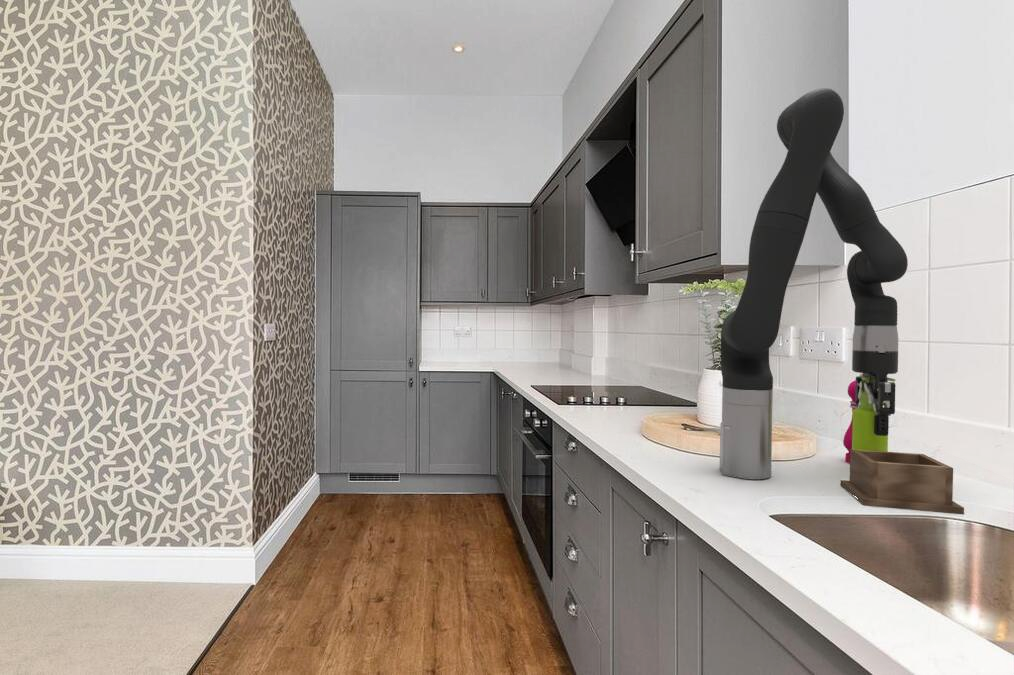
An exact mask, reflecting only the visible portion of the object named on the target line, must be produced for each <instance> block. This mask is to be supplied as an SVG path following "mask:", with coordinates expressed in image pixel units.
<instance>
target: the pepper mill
mask: <svg viewBox="0 0 1014 675" xmlns="http://www.w3.org/2000/svg"><path fill="white" fill-rule="evenodd" d="M862 374H863V373H859V376H860V377H862ZM855 393H856V379H855V380H853V381H851V382H850V383H849V385H848V386H847V394H848V395H847V396H848V397H849V398H850V399H851V401H849V403H850V405H849V407H850V408H851V409H852V410H851V412H852V415H851V421H850V424H849V426H848V428H847V430H846V431H845V434H844V436H843V441H842V442H843V446H844V448H845V449H846V450H847V452H846V453H845V459H844V460H845V462H846V463H847V464H849V465H850V449H852V428H853V409H859V408H858V405H856V403H855Z"/></svg>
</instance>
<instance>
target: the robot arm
mask: <svg viewBox="0 0 1014 675" xmlns="http://www.w3.org/2000/svg"><path fill="white" fill-rule="evenodd" d="M844 114H845V107H844V103H843V99H842V97H841V96H840V95H839V93H838V92H837V91H835V90H833V89H832V88H827V87H821V88H816V89H814V90H811V91H809V92H807V93H805V94H804V95H803V94H802V96H800V97H799V98H798V99H796V100H795V101H794V102H792V103H791V104H789V105H788V106H787V107H785V108H784V110H783V111H781V113H780V115H779V116H778V118H777V123H776V130H777V135H778V138H779V139H780V141H781V142H782V145H783V146H784V147H785V148H786V150H787V153H786V156H785V158H784V161H783V164H782V165H781V168H780V169H779V171H778V173H777V175H776V176H775V178H774V179H773V181H772V183H771V185H770V186H769V188H768V189H767V191H766V194H765V195H764V197H763V199H762V200H761V201H762V202H761V204H760V205H759V209H758V210H757V214H756V217H755V220H754V224H753V228H752V232H751V235H750V236H751V237H750V240H749V248H748V264H747V265H748V268H747V276H746V280H745V284H744V287H743V290H742V293H741V294H740V295H741V296H740V298H739V300H738V303H737V306H736V308H735V310H733V311H732V312H730V313H729V314H728V315H727V316H726V317H725V319H724V320H723V322H722V325H721V328H720V329H721V331H720V372H721V377H722V384H721V385H722V387H721V388H722V390H721V391H722V392H721V393H722V396H721V397H722V398H721V422H720V424H719V426H720V427H719V435H720V436H719V470H720V472H721V475H722V476H729V477H734V478H739V479H744V480H745V479H747V480H766V479H770V478H771V477H772V450H773V449H772V445H773V443H772V442H773V398H774V377H773V374H772V371H771V366H770V348H771V347H772V346H773V345H774V343H775V341H776V340H777V338H778V336H779V335H778V334H779V330H780V323H781V318H782V311H783V306H784V303H785V302H784V301H785V295H786V290H787V287H788V284H789V282H790V278H791V277H792V273H793V271H794V269H795V266H796V262H797V260H798V258H799V254H800V251H801V247H802V245H803V241H804V239H805V235H806V231H807V228H808V225H809V222H810V218H811V214H812V209H813V206H814V202H815V200H816V197H817V195H818V196H819V198H820V200H821V202H822V203H823V205H824V207H825V209H826V211H827V214H828V215H829V217H830V219H831V222H832V224H833V226H834V228H835V230H836V232H837V235H838V236H839V238H840V239H841V241H842V242H843V243H844V244H849V245H850V244H851V245H854V246H857V248H859V249H860V251H857V252H855V253H854V254H853V255H851V258H850V259H849V261H848V264H847V268H846V276H847V277H846V278H847V283H848V286H849V290H850V294H851V297H852V301H853V302H854V323H853V324H854V327H853V332H852V333H853V334H852V354H851V355H852V357H851V359H852V361H851V363H852V364H851V370H852V372H854V373H859V374H860V373H863V374H862V376H868V377H870V380H869V383H866V380H862V379H861V378H862V377H860V376H858V375H857V376H855V380H856V393H855V403H856V405H858V408H860V402H861V393H862V392H864V391H866V392H867V395H868V400H869V404H870V405H872V406H873V410H874V434H875V435H878V436H887V435H888V436H889V428H890V426H889V421H890V420H889V418H890V417H891V415H895V413H896V383H895V381H894V382H893V381H888V380H887V377H888V375H895V374H897V373H898V372H899V332H898V302H897V299H896V298H895V297H893V296H890V295H887V294H885V292H884V290H883V287H882V284H883V283H892V282H895V281H898V280H899V279H901V278H903V276H905V274H906V272H907V270H908V264H909V262H908V256H907V254H906V251H905V250H904V248H903V246H902V245H901V243H899V241H898V240H897V239H896V238H895V236H893V235H892V232H890V231H889V229H887V228H886V227H885V226H884V225H883V224H882V222H880V219H879V217H878V215H877V213H876V211H875V209H874V206H873V205H872V202H871V200H870V198H869V196H868V195H867V193H866V192H865V190H864V189H863V187H862V185H860V183H858V182H857V180H855V179H854V178H853V177H852V176H851V174H849V173H848V172H846V171H845V169H844V168H843V167H842V166H841V165H840V164H839V163H838V161H836V159H835V157H834V156H833V155H832V152H831V150H832V149H833V146H834V143H835V141H836V139H837V137H838V133H839V132H840V129H841V128H842V127H841V126H842V124H843V120H844ZM875 415H877V416H875Z"/></svg>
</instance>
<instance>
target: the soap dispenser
mask: <svg viewBox="0 0 1014 675" xmlns="http://www.w3.org/2000/svg"><path fill="white" fill-rule="evenodd" d="M861 379H862V380H866V383H869V380H870V377H868V376H862V378H861ZM887 380H888V382H894V383H895V382H896V379H895V378H892V377H888V376H887ZM875 416H877V415H875ZM852 449H853V450H868V451H884V452H889V451H888V449H889V434H888V435H887V436H878V435H875V434H874V410H873V406H872V405H870V404H869V400H868V395H867V392H866V391H864V392H862V393H861V402H860V408H859V409H853V428H852Z"/></svg>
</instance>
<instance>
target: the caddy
mask: <svg viewBox="0 0 1014 675" xmlns="http://www.w3.org/2000/svg"><path fill="white" fill-rule="evenodd" d="M953 486H954V467H952V466H950V465H947V464H945V463H943V462H941V461H938V460H937V459H934V458H932V457H931V456H929V455H926V454H925V453H915V452H914V453H913V452H911V453H910V452H899V451H898V452H897V451H888V452H884V451H868V450H853V449H850V464H849V480H846V479H845V480H843V479H841V480H840V487H842V488H843V489H844V488H845V489H846V490H847V491H846V490H845V489H844V490H845V491H846V492H848V493H849V492H850V493H851V494H852V495H854V496H856V497H857V498H858V500H857V502H859V503H860V504H861V505H862V506H870V507H872V506H873V507H880V508H881V507H882V508H892V509H902V510H903V509H904V510H915V511H926V512H938V513H949V514H960V515H964V514H965V507H964V506H962V505H960V504H958V503H957V502H955V501H953V494H954V493H953V491H954V489H953V488H954V487H953ZM850 493H849V494H850ZM851 494H850V495H851ZM852 495H851V496H852Z"/></svg>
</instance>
